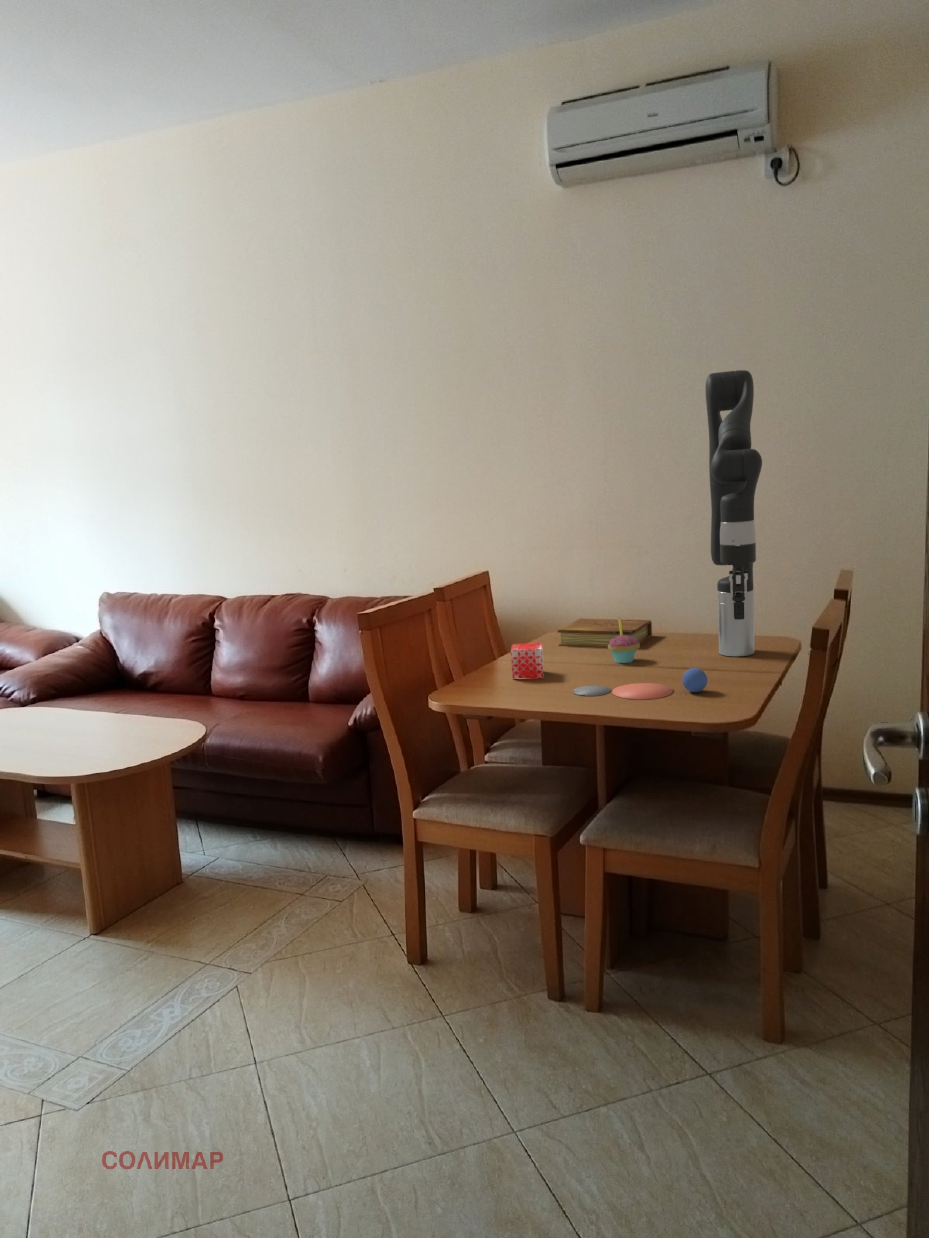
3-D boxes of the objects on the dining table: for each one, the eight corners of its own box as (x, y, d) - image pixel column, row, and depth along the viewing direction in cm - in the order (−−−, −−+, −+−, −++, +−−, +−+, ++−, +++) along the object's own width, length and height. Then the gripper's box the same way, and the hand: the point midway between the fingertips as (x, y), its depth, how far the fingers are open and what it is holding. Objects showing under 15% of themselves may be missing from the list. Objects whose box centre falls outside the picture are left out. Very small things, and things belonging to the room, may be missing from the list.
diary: (652, 638, 267) (651, 619, 266) (631, 651, 251) (631, 631, 250) (582, 635, 279) (581, 617, 277) (558, 647, 263) (557, 628, 262)
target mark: (616, 683, 214) (616, 682, 214) (675, 684, 210) (675, 683, 210) (608, 699, 201) (608, 698, 201) (670, 699, 197) (670, 699, 196)
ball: (683, 688, 205) (682, 665, 204) (708, 688, 203) (707, 665, 202) (681, 695, 200) (681, 671, 199) (707, 695, 198) (706, 671, 197)
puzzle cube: (514, 673, 233) (512, 644, 232) (543, 671, 232) (542, 642, 231) (512, 680, 225) (510, 650, 224) (543, 679, 224) (541, 649, 223)
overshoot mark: (576, 686, 214) (576, 685, 214) (613, 686, 212) (613, 685, 212) (569, 695, 206) (569, 695, 206) (607, 696, 203) (607, 695, 203)
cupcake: (603, 660, 239) (601, 617, 237) (630, 656, 242) (629, 613, 240) (618, 666, 231) (616, 622, 229) (646, 662, 234) (644, 618, 232)
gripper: (720, 539, 200) (722, 611, 203) (719, 545, 187) (721, 623, 190) (755, 537, 198) (756, 610, 201) (756, 544, 185) (757, 622, 188)
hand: (739, 616), depth 195 cm, fingers open, 5 cm apart
